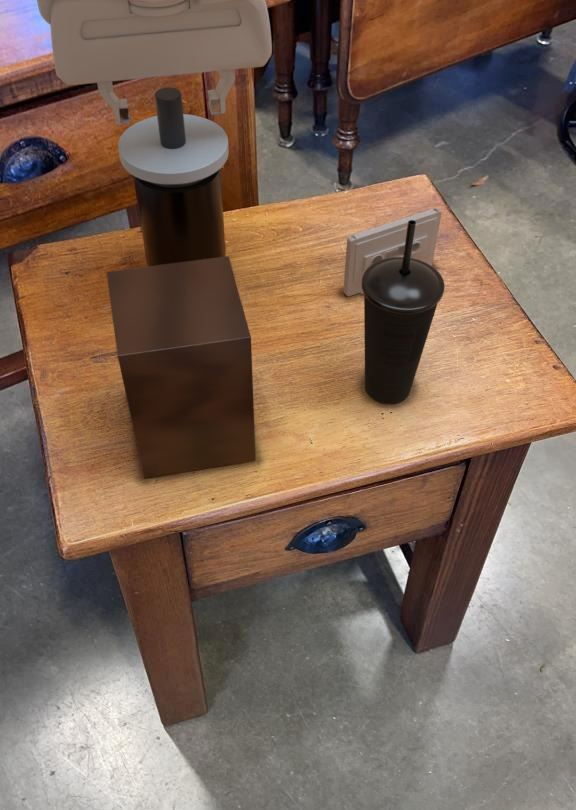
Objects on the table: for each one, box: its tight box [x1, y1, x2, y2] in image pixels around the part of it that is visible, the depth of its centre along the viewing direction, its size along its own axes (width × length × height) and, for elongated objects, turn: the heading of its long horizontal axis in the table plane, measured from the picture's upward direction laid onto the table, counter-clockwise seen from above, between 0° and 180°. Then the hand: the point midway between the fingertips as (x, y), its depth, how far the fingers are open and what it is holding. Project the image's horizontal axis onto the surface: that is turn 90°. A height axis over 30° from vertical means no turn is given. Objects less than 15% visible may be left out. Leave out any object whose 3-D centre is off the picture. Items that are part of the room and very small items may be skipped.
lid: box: [117, 86, 230, 184], centre depth 83 cm, size 11×11×6 cm
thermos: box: [132, 168, 227, 267], centre depth 92 cm, size 9×9×16 cm
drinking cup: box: [361, 220, 445, 405], centre depth 79 cm, size 8×8×20 cm
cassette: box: [342, 207, 442, 297], centre depth 95 cm, size 12×2×8 cm, turn 118°
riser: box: [106, 255, 257, 479], centre depth 77 cm, size 11×11×16 cm
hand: (170, 116), depth 82 cm, fingers open, 8 cm apart
